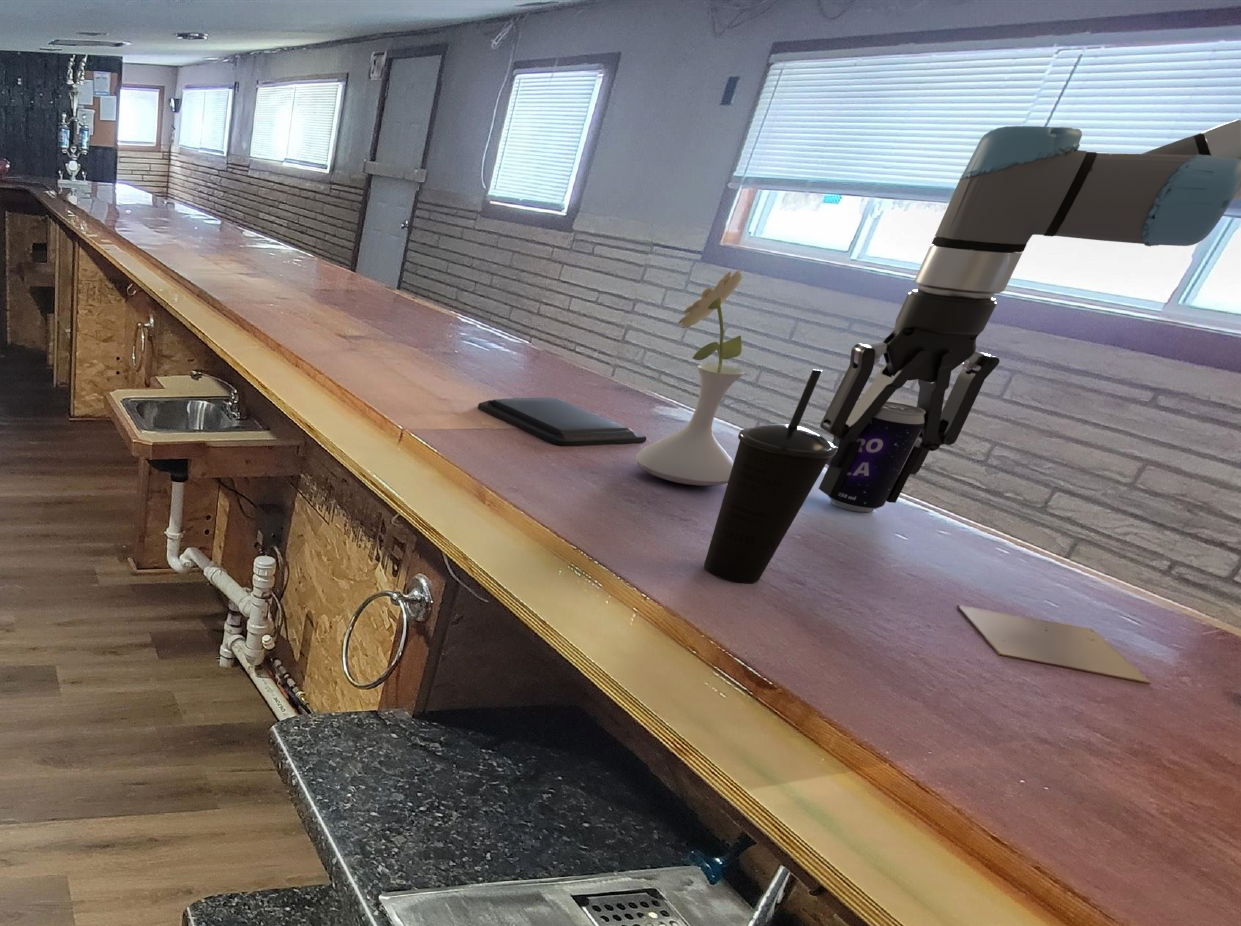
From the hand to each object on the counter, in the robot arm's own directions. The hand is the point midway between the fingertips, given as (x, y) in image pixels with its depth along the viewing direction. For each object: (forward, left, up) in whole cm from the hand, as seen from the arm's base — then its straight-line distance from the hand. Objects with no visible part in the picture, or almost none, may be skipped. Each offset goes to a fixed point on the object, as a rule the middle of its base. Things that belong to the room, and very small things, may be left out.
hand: (856, 495), depth 106 cm
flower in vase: (+19, 0, -2) cm, 19 cm away
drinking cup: (+17, +30, -2) cm, 35 cm away
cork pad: (-7, +33, -1) cm, 34 cm away
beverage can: (0, 0, -2) cm, 2 cm away
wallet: (+33, -19, -2) cm, 38 cm away
